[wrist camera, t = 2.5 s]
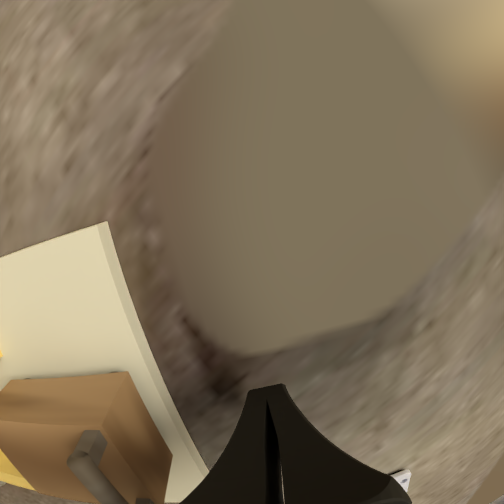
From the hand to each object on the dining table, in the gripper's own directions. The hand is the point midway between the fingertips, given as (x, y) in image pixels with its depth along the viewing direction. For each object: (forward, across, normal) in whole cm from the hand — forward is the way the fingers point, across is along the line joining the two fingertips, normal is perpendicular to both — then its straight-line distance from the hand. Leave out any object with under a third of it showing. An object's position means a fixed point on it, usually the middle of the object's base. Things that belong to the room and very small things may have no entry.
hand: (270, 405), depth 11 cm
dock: (+2, +13, 0) cm, 13 cm away
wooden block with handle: (+1, +8, 0) cm, 9 cm away
